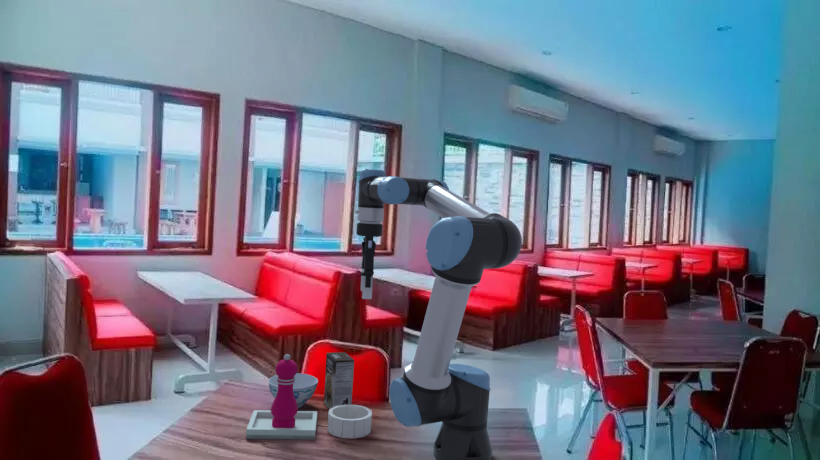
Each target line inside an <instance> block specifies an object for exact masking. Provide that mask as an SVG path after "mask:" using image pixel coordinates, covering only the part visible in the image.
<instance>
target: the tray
mask: <svg viewBox="0 0 820 460" xmlns="http://www.w3.org/2000/svg"><path fill="white" fill-rule="evenodd" d="M273 418H274V416H273V415H272V413H271V409H270V410H269V409H268V410H267V409H265V410H261V409H260V410H259V409H257V410H256V409H255V410H253V411H252V414H251V416H250V419H249V422H248V424H247V426H246V430H245V433H246V434H245V436H246V437H245V439H246V440H247V439H250V440H251V439H253V440H255V439H256V440H260V439H261V440H316V431H317V422H318V411H317V410H306V411H305V410H298V411H297V414H296V415H295V416H294V418H295V426H294V427H293V428H274V427H273V426H272V419H273Z"/></svg>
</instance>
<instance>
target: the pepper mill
mask: <svg viewBox="0 0 820 460" xmlns="http://www.w3.org/2000/svg"><path fill="white" fill-rule="evenodd" d="M274 371H275V374H276V375H278V377H277V383H278V392H277V395H276V398H274V400H273V402H272V403H271V407H270V411H271V413H272V415H273V416H274V418H273V419H272V426H273V427H274V428H293V427H294V426H295V418H294V416H295V415H296V414H297V411H299V410H298V409H299V408H297V402H296V400H295V397H294V394H293V383H295V377H294V376H295V375H296V373H298V364H297V363H296V362H295V361H294V360H292V359H291V355H290V354H288V353H286V354H285V355H283V359H280V360H279V361H278V362H277V363H276V365H275V368H274Z"/></svg>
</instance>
